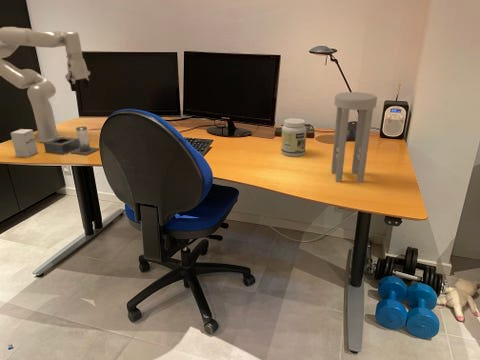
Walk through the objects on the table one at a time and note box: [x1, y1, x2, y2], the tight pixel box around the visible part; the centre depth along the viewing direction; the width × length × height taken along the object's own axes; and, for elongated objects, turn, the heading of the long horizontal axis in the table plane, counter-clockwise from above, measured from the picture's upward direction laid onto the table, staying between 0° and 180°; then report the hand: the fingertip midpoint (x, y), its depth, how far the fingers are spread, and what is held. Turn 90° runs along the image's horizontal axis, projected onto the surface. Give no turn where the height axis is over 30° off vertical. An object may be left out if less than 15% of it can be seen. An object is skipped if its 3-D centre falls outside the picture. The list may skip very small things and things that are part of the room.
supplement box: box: [10, 128, 39, 158], centre depth 190 cm, size 7×7×13 cm
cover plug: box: [75, 126, 91, 152], centre depth 194 cm, size 5×5×12 cm
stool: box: [330, 91, 378, 183], centre depth 155 cm, size 16×16×35 cm
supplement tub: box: [280, 117, 307, 158], centre depth 187 cm, size 12×12×17 cm
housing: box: [43, 136, 80, 156], centre depth 198 cm, size 12×12×5 cm
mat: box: [70, 146, 100, 157], centre depth 196 cm, size 10×10×1 cm
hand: (80, 89), depth 204 cm, fingers open, 9 cm apart
